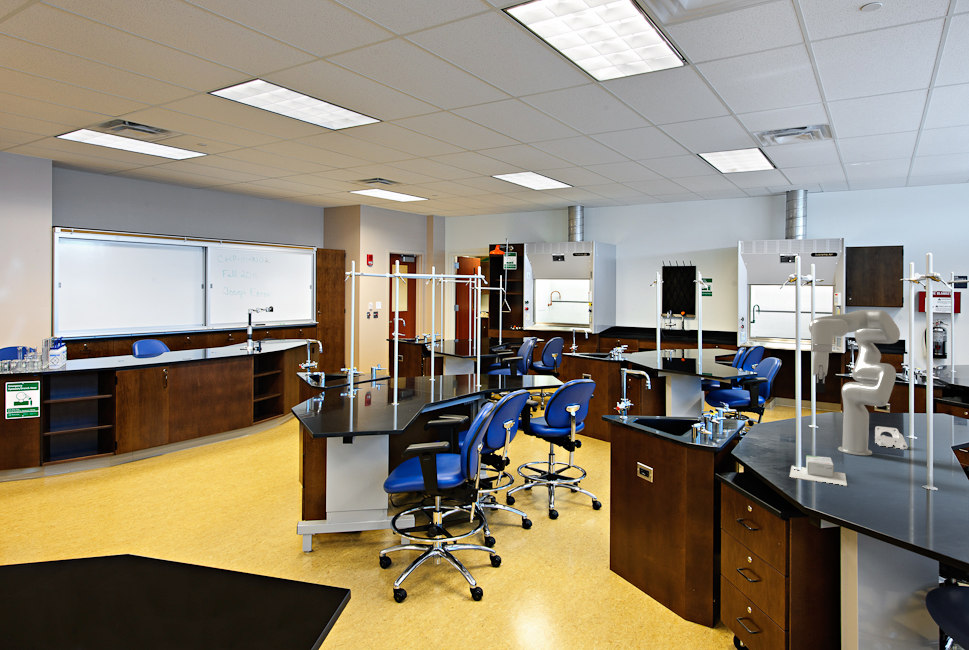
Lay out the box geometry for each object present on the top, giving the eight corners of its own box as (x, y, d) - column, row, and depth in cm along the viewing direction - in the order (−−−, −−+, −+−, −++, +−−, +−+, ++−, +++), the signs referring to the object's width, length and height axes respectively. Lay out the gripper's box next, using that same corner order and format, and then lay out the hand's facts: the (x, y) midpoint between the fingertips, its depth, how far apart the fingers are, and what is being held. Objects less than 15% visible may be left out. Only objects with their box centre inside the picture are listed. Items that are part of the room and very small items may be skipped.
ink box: (831, 457, 211) (834, 464, 201) (830, 470, 211) (834, 477, 201) (805, 454, 215) (807, 460, 205) (805, 467, 215) (807, 474, 205)
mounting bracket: (906, 452, 251) (906, 429, 255) (907, 449, 247) (907, 426, 250) (874, 448, 258) (875, 426, 261) (875, 445, 253) (876, 423, 257)
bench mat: (791, 466, 217) (791, 465, 217) (845, 474, 208) (845, 473, 207) (789, 477, 202) (789, 476, 202) (847, 486, 192) (847, 485, 192)
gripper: (811, 347, 233) (810, 389, 233) (810, 349, 220) (809, 393, 220) (831, 348, 229) (830, 391, 229) (832, 350, 216) (831, 395, 216)
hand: (820, 392), depth 225 cm, fingers closed
